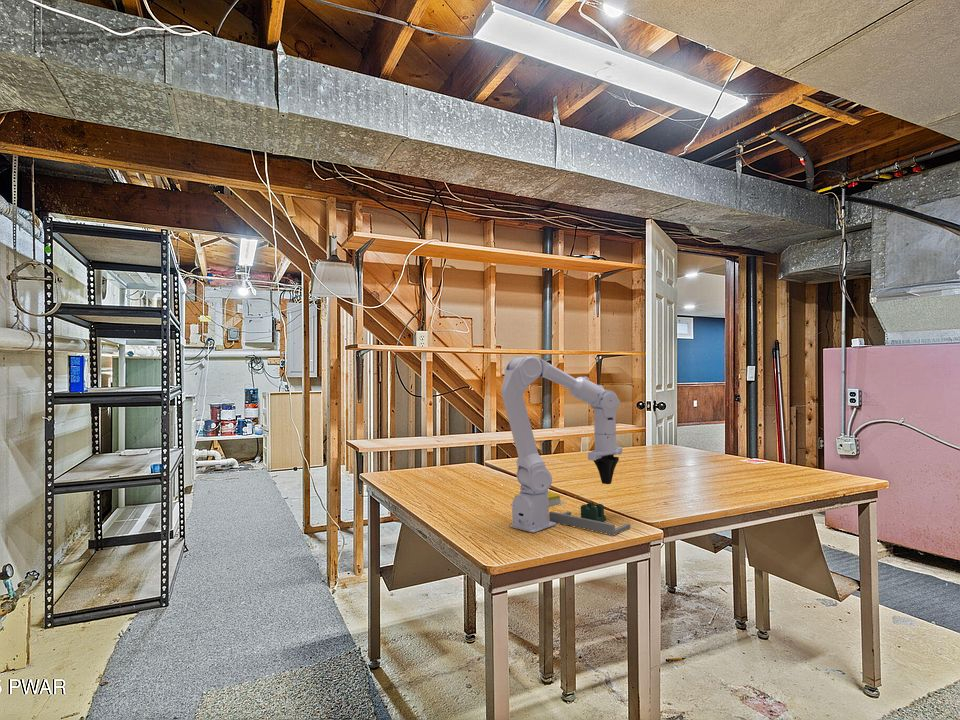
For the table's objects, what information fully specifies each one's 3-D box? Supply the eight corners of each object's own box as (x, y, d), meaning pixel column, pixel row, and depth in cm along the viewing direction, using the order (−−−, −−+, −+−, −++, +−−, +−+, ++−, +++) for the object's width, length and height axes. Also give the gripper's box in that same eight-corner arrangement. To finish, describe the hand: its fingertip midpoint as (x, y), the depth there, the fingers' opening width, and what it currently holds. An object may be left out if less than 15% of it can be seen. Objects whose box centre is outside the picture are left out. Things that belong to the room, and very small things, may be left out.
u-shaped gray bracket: (612, 536, 123) (612, 525, 123) (549, 521, 136) (549, 512, 136) (630, 528, 129) (630, 518, 129) (567, 514, 142) (567, 505, 142)
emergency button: (509, 491, 155) (546, 485, 164) (509, 506, 155) (546, 499, 163) (528, 497, 148) (566, 490, 156) (528, 512, 147) (567, 504, 156)
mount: (589, 530, 129) (588, 510, 129) (574, 527, 132) (573, 507, 132) (610, 520, 137) (610, 501, 137) (596, 517, 140) (595, 499, 140)
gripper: (603, 437, 132) (605, 490, 131) (631, 432, 142) (633, 481, 142) (580, 435, 137) (582, 486, 136) (609, 430, 147) (610, 478, 147)
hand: (606, 483), depth 139 cm, fingers closed
